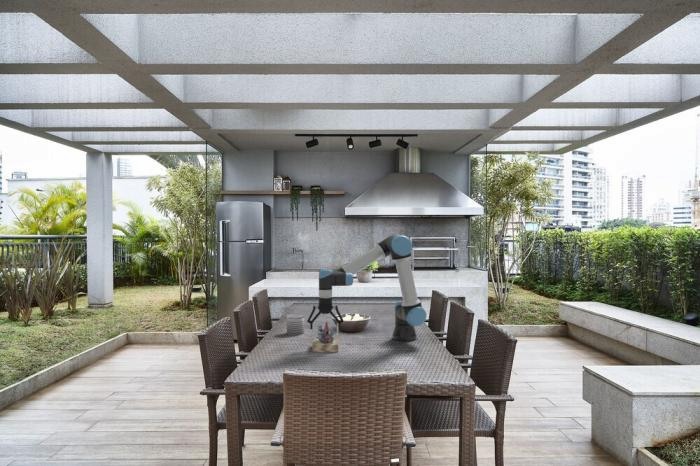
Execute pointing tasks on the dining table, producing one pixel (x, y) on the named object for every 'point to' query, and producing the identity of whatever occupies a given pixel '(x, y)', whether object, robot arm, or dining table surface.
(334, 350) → the oak riser
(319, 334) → the spiky succulent plant
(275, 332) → the dining table surface
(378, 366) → the dining table surface
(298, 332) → the can
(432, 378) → the dining table surface
